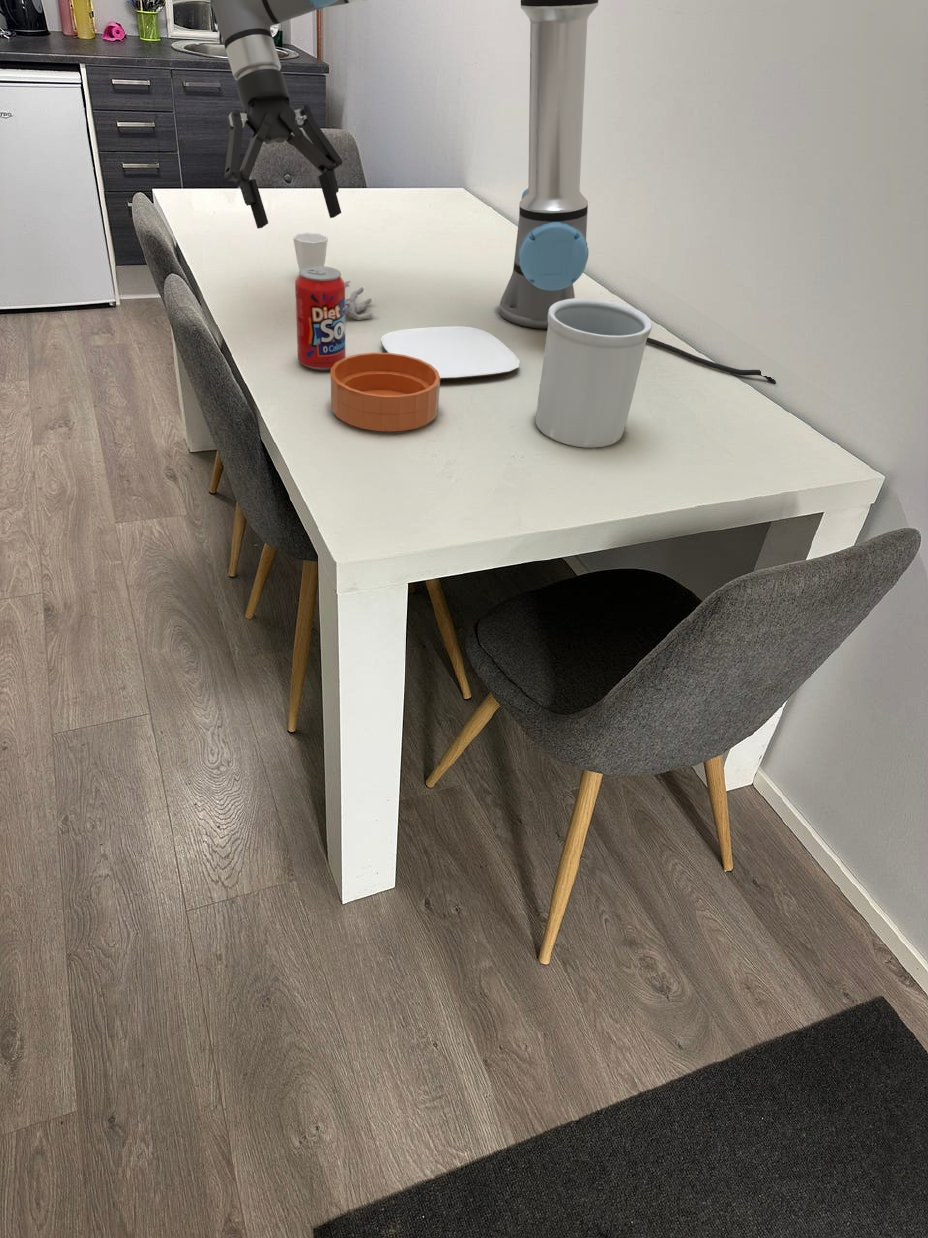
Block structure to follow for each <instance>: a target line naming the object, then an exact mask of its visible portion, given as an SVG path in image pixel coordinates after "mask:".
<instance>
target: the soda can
mask: <svg viewBox="0 0 928 1238" xmlns="http://www.w3.org/2000/svg"><path fill="white" fill-rule="evenodd" d="M345 282H346V281H344V279H343V278H342V273H341V271H340V270H339V269H337V268H334V267H330V266H325V265H324V266H309V267H305V268H302V269H300V270H299V271H298V276H297V277H296V279H295V281H294V292H295V293H294V294H295V318H296V319H295V320H296V321H295V322H296V323H295V324H296V325H295V326H296V347H297V349H296V350H297V351H296V352H297V361H298V362H299V363H300V364H302V365H303V366H305V367H307V368H309V369H310V370H315V371H331V368H332V367H333V365H334V364H335V363H336V362H338V361H340V360H341V359H343V358H345V357H346V314H345V299H346V289H345Z"/></svg>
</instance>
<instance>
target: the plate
mask: <svg viewBox="0 0 928 1238" xmlns="http://www.w3.org/2000/svg"><path fill="white" fill-rule="evenodd" d="M380 343H381V345H382V348H383V349H384V350H385V351H386V353H394V354H401V355H406V356H410V357H413V358H417V359H420V360H422V361H424V362H426V363H428V364H430V365H432V366H433V367H434V368H435V369H436V370H437V371H438V373H439V376H440V380H460V379H470V378H472V379H473V378H480V377H481V378H482V377H490V376H498V375H503V374H504V375H505V374H509V373H511V372H513V371H515V370H518V369H519V368H520V362H521V361H520V359H519V358H518V356H517V355H516V354H515V353H514V352H513V351H512V350H511V349H510V348H509V347H507V346H506V345H505V344H504V343H503V342H502V341H500V339H499V338H497V337H496V336H494V335H493V334H491V333H490V332H488V331H485V330H482V329H480V328H477V327H473V326H472V327H471V326H464V325H463V326H462V325H455V326H454V325H453V326H451V325H449V326H447V325H446V326H430V327H429V326H427V327H416V328H406V329H399V330H398V329H397V330H393V331H391V332H388V333H385V334H383V335H382V337H381V339H380Z"/></svg>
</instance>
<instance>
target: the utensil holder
mask: <svg viewBox="0 0 928 1238" xmlns="http://www.w3.org/2000/svg"><path fill="white" fill-rule="evenodd" d="M652 329H653V322H652V319H650V317H649V316H648V315H646V314H645V313H644V312H643V311H641V310H639V309H637V308H635V307H632V306H630V305H627V304H624V303H620V302H617V301H613V300H612V301H611V300H608V299H603V298H593V297H592V298H591V297H590V298H589V297H575V298H573V299H566V300H562V301H559V302H556V303H554V304H553V305H552V306H551V307H550V308H549V311H548V329H547V330H546V331H547V332H546V338H545V343H544V344H545V345H544V353H543V360H542V367H541V375H540V382H539V388H538V389H539V390H538V397H537V404H536V405H537V406H536V416H535V424H536V427H537V428H538V430H539V431H540V432H541V433H542V434H543V435H545V436H546V437H548V438H549V439H551V440H554V441H555V442H559V443H561V444H564V445H567V446H572V447H578V448H587V449H588V448H590V449H593V448H603V447H604V448H605V447H608V446H612V445H614V444H616V443H618V442H619V441H620V439H621V438H622V437H623V434H624V431H625V428H626V424H627V420H628V417H629V413H630V409H631V406H632V402H633V398H634V394H635V390H636V386H637V381H638V377H639V373H640V369H641V365H642V361H643V357H644V352H645V349H646V345H647V343H646V340H647V338H650V337H649V336H650V334H651V332H652Z"/></svg>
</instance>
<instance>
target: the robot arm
mask: <svg viewBox="0 0 928 1238" xmlns="http://www.w3.org/2000/svg"><path fill="white" fill-rule="evenodd" d="M209 1H210V7H211V8H212V10H213V13H214V17H215V20H216V24H217V26H218V29H219V33H220V35H221V38H222V42H223V46H224V50H225V53H226V56H227V60H228V63H229V66H230V70H231V73H232V77H233V79H234V80H235V81H236V84H235V86H236V87H235V88H236V90H237V94H238V97H239V100H240V104H241V107H242V109H243V112H241V111H239V110H238V109H233V110H232V111H231V112H230V113H229V114H228V115H227V117H226V121H227V125H228V132H229V133H228V134H229V135H228V142H227V151H226V160H225V168H224V179H225V180H226V181H227V182H234V184H235V185H236V186H237V187H239V189H240V191H241V196H242V198H243V202H244V204H245V205H246V206H250V209H251V212H252V216H253V219H254V222H255V225H256V228H257V229H262V228H264V227H265V226H267V225H268V224H269V219H268V216H267V214H266V210H265V207H264V203H263V199H262V197H261V193H260V190H259V187H258V183H257V180H256V178H252V179H250V178H251V175H252V172H253V170H254V167H255V164H256V161H257V159H258V157H259V154H260V151H261V149H262V146H263V143H265V145H271V144H273V143H277V144H281V143H284V142H287V143H288V144H289V146H293V147H294V148H295V149H296V150H297V151H298V152H299V153H300V154H301V155H303V157H305V159H306V160H308V162H309V163H311V164H312V166H314V167H315V168H316V169H317V170H318V171H319V172H320V175H318V180H319V183H320V187H321V192H322V194H323V199H324V201H325V206H326V209H327V212H328V215H329V218H330V219H332V218H333V219H334V218H336V217H337V216H339V215H340V214H342V209H341V205H340V202H339V199H338V195H337V194H338V193H339V190H340V189H339V184H338V181H337V177H336V173H335V170H336V169H338V167H340V166H342V164H343V159H342V158H341V156H340V155H339V153H338V152H337V150H336V149H335V148H334V146H333V145H332V143H331V142H330V140H329V138H328V137H327V136H326V135H325V133H324V132H323V130H322V129H321V127H320V126H319V124H318V123H317V122H316V120H315V118H314V115H313V113H312V110H311V108H310V106H309V105H308V104H304V105H303V106H302V108H298V109H294V108H293V107H292V105H291V103H290V94H289V91H288V87H287V83H286V80H285V76H284V74H283V72H281V68H282V64H281V62H280V59H279V55H278V51H277V48H276V45H275V42H274V38H273V34H272V31H271V27H273V26H276V25H279V24H281V23H283V22H286V21H289V20H292V19H295V18H298V17H301V16H303V15H306V14H309V13H312V12H314V11H317V10H323V9H325V8H329V7H336V6H342V5H347V4H353V3H359V2H365V1H367V0H209ZM598 6H599V0H520V9H521V10H522V11H523V13H524V14H525V15H526V16H527V18H528V20H529V22H530V24H529V25H530V26H529V27H530V28H529V29H530V32H529V108H528V109H529V114H528V115H529V117H528V123H529V124H528V188H526V189H525V190H523V192H522V194H521V200H520V201H519V203H518V204H519V205H518V206H519V207H518V210H519V211H518V214H519V215H518V225H517V233H516V242H515V250H514V259H513V268H512V272H511V276H510V278H509V281H508V283H507V285H506V287H505V290H504V292H503V294H502V296H501V298H500V301H499V309H498V312H499V315H500V317H502V318H503V319H505V320H506V321H508V322H510V323H512V324H515V325H519V326H522V327H525V328H532V329H539V330H548V311H549V308H550V307H551V306H552V305H553V304H554V303H556V302H559V301H562V300H566V299H573V298H576V295H575V288H574V283H576V281H578V280H579V279H580V277H581V276H582V275H583V273H584V271H585V269H586V266H587V263H588V260H589V254H590V253H589V247H588V242H587V234H588V233H587V229H588V213H589V211H588V209H589V200H588V199H587V198H586V197H585V196H584V195H583V194H582V193H581V191H580V190H581V188H580V187H581V169H582V168H581V167H582V166H581V165H582V144H583V122H584V121H583V120H584V100H585V99H584V98H585V82H586V81H585V79H586V58H587V57H586V55H587V35H588V20H589V17H590V16H591V14H592V13H593V12H594V11H595V10H596V8H597V7H598ZM295 121H296V122H295ZM298 125H300V126H301V128H302V129H301V128H300V127H299V126H298ZM245 126H247V127H248V128H249V129H250V130H251V131H252V134H251V137H250V140H249V143H248V144H249V145H248V148H247V150H246V152H245V155H244V157H243V160H242V163H241V166H240V157H241V150H242V149H241V147H242V141H243V130H244V127H245ZM304 133H305V134H304ZM305 135H306V136H307V137H306V136H305ZM239 166H240V167H239ZM646 344H650V345H653V346H655V347H658V348H661V349H663V350H666V351H669V352H671V353H674V354H676V355H679V356H681V357H683V358H684V359H688V360H690V361H692V362H694V363H697V364H699V365H700V364H701V365H703V366H706V367H709V368H712V369H715V370H717V371H721V372H724V373H728V374H733V375H736V376H760V377H762V378H765V379H766V380H767V381H768V382H769V384H772V385H776V384H777V381H776V379H775V378H774V379H775V380H774V379H772V378H771V377H767V376H762V375H761V371H760V370H761V369H739V368H734V367H730V366H727V365H724V364H720V363H716V362H714V361H711V360H708V359H705V358H702V357H700V356H697V355H694V354H692V353H690V352H687V351H685V350H683V349H681V348H678V347H676V346H673V345H670V344H668V343H665V342H663V341H660V340H657V339H654V338H651V337H648V338H647V340H646Z"/></svg>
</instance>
